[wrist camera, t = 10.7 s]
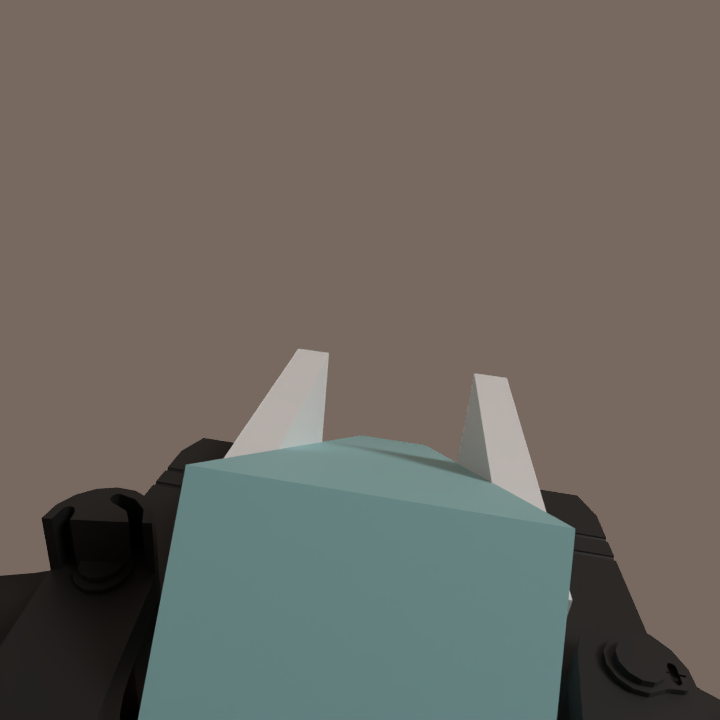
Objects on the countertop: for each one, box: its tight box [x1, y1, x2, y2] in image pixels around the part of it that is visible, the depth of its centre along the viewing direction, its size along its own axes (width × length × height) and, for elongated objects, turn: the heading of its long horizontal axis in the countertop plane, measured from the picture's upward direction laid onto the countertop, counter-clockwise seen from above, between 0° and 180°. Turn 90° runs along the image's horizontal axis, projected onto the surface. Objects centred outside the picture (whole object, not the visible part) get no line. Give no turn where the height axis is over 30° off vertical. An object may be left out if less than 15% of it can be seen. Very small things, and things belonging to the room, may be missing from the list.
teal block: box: [138, 436, 575, 720], centre depth 16 cm, size 24×4×4 cm, turn 176°
